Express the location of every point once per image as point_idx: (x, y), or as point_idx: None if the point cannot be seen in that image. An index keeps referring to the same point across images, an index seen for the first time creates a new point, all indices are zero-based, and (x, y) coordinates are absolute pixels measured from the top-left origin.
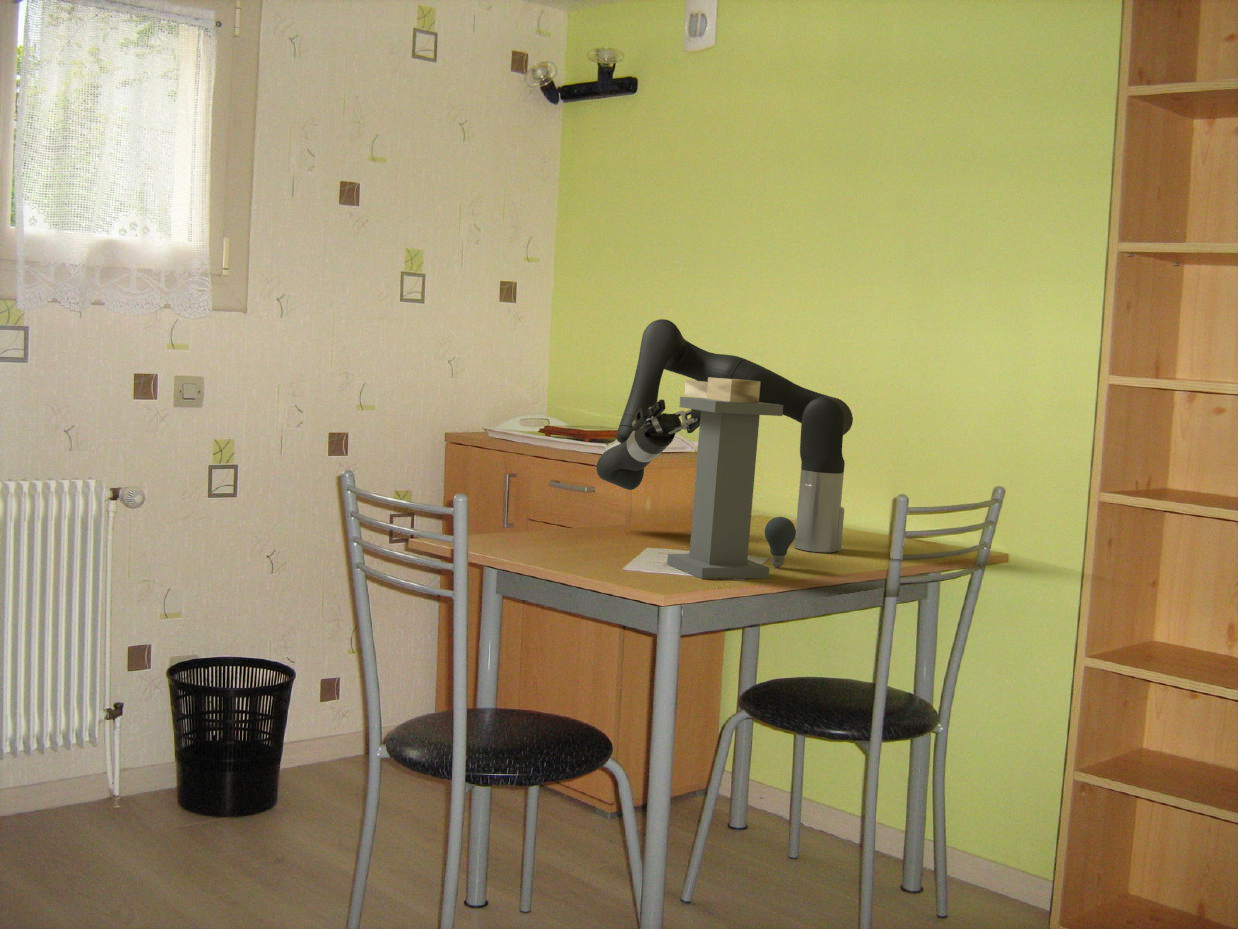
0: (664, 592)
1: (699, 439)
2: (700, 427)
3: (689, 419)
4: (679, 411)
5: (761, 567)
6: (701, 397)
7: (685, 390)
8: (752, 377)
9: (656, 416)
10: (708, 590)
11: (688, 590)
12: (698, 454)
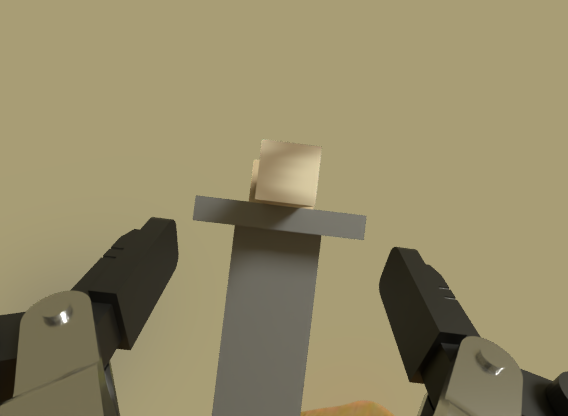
0: (371, 410)
1: (313, 292)
2: (316, 268)
3: (111, 388)
4: (101, 408)
5: None
6: (301, 207)
7: (316, 187)
8: None
9: (422, 380)
10: (320, 409)
11: (343, 412)
12: (310, 322)
